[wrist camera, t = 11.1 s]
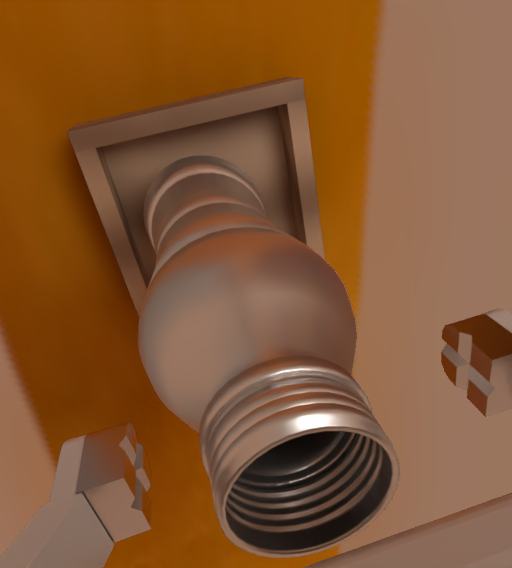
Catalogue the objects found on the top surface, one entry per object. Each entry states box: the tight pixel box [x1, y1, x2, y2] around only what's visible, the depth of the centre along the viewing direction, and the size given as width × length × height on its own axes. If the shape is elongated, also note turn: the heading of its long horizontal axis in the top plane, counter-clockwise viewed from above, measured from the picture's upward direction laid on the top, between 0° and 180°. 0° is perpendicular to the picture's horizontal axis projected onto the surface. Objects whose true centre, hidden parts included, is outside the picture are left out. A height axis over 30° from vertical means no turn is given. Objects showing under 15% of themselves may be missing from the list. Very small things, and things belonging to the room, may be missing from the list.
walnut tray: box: [67, 78, 325, 319], centre depth 25 cm, size 12×12×3 cm
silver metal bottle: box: [138, 156, 400, 558], centre depth 17 cm, size 6×7×20 cm
